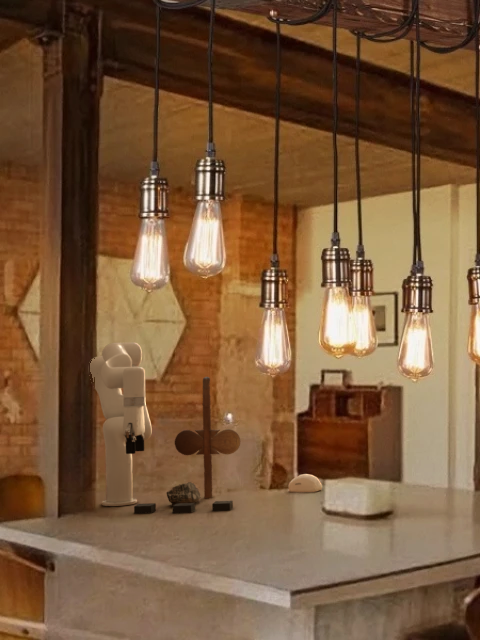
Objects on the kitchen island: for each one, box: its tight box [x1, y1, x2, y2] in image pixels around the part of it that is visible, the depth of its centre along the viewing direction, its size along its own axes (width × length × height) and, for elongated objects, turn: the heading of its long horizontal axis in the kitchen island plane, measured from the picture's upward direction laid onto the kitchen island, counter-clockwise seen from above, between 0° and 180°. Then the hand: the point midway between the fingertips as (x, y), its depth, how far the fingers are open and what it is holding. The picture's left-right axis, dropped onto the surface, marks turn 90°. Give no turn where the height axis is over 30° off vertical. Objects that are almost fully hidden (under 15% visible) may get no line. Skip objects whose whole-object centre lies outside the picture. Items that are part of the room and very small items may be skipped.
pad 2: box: [211, 500, 234, 512], centre depth 376 cm, size 6×6×2 cm
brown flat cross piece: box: [174, 376, 241, 499], centre depth 408 cm, size 25×4×45 cm, turn 81°
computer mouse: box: [287, 473, 323, 493], centre depth 417 cm, size 6×13×6 cm, turn 75°
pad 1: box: [133, 502, 157, 515], centre depth 376 cm, size 6×6×2 cm
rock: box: [166, 481, 202, 506], centre depth 393 cm, size 18×10×10 cm
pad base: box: [172, 502, 196, 514], centre depth 374 cm, size 6×6×2 cm
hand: (135, 452), depth 377 cm, fingers open, 9 cm apart
